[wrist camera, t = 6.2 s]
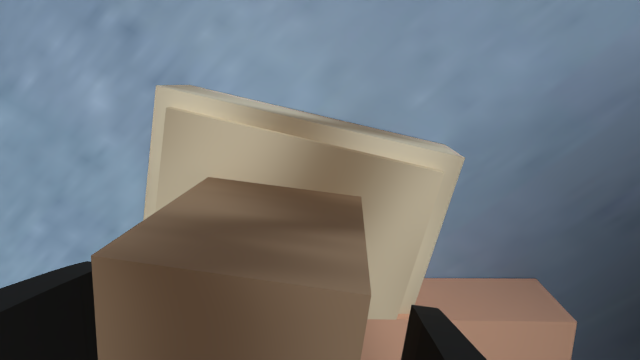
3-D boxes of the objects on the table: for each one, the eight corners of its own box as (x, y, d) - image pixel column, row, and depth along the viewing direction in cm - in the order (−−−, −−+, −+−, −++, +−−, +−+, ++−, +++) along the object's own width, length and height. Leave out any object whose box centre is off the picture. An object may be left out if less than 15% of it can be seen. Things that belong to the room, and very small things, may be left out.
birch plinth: (445, 144, 12) (468, 160, 10) (376, 357, 15) (381, 411, 12) (189, 84, 12) (150, 85, 10) (162, 305, 15) (126, 348, 12)
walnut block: (361, 196, 10) (371, 295, 6) (341, 329, 12) (335, 504, 7) (208, 176, 11) (91, 256, 6) (204, 309, 12) (104, 465, 7)
